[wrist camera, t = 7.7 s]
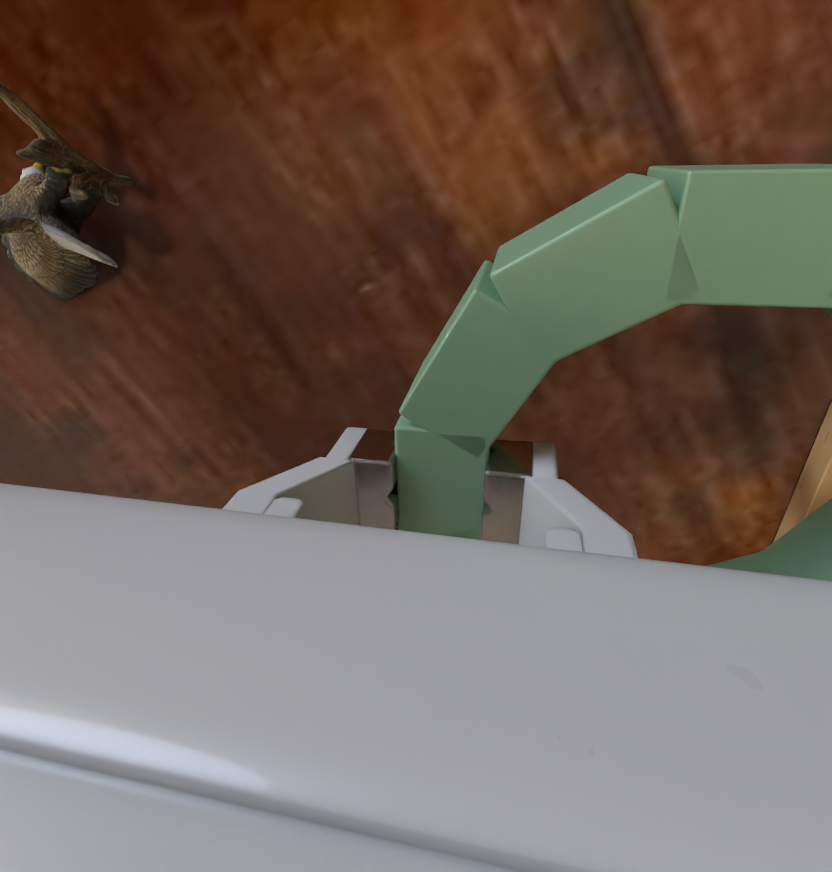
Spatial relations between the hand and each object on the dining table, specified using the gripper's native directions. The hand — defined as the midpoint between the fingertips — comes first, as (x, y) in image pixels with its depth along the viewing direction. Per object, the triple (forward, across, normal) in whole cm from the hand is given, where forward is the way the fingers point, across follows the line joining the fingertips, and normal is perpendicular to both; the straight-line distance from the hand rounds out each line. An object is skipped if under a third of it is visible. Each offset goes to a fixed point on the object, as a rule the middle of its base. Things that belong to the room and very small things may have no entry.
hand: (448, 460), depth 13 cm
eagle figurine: (+12, +20, -5) cm, 23 cm away
